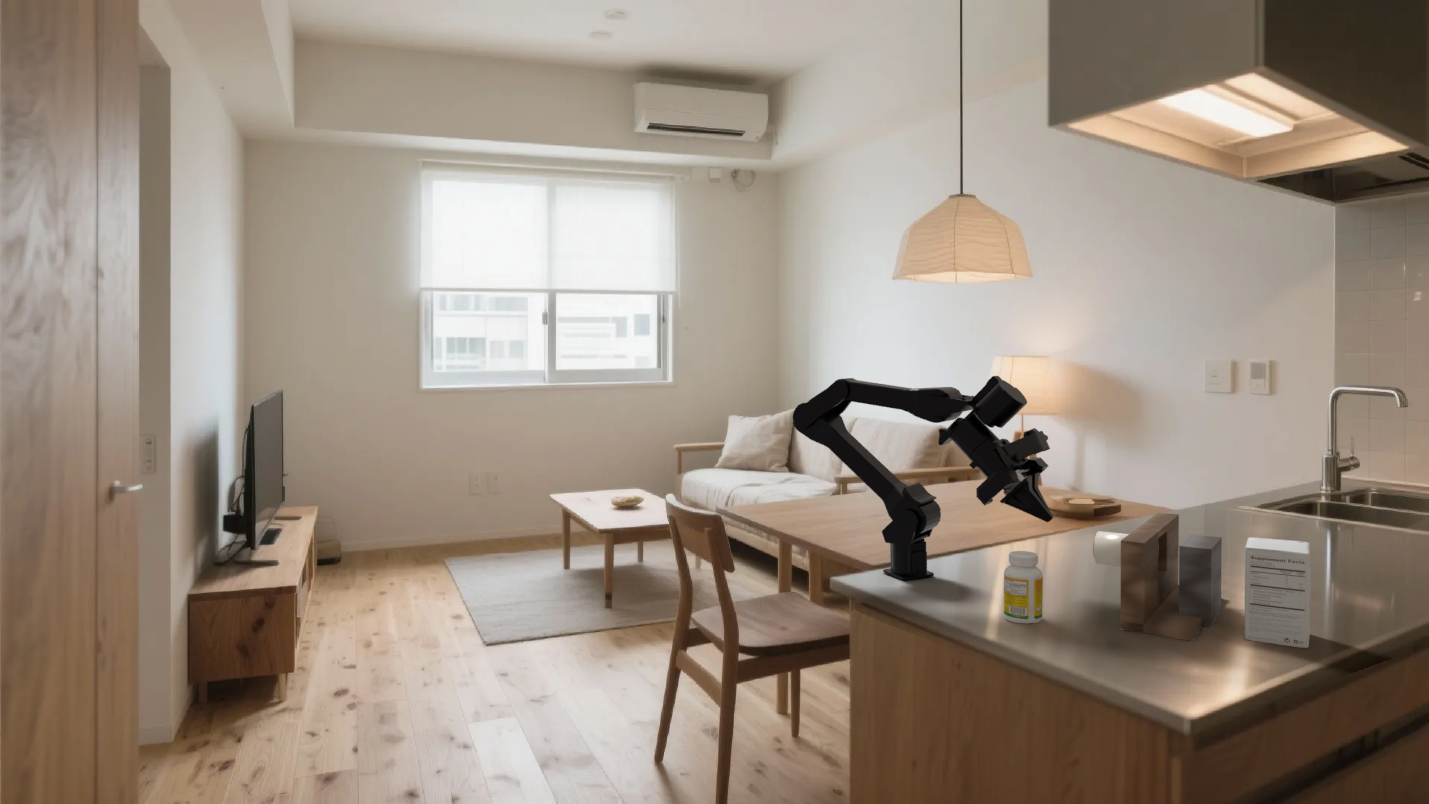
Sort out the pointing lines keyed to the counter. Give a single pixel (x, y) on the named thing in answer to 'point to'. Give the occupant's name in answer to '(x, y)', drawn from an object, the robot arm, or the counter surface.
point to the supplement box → (1277, 591)
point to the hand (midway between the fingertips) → (1050, 520)
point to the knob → (1108, 548)
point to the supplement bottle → (1023, 588)
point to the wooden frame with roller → (1169, 580)
